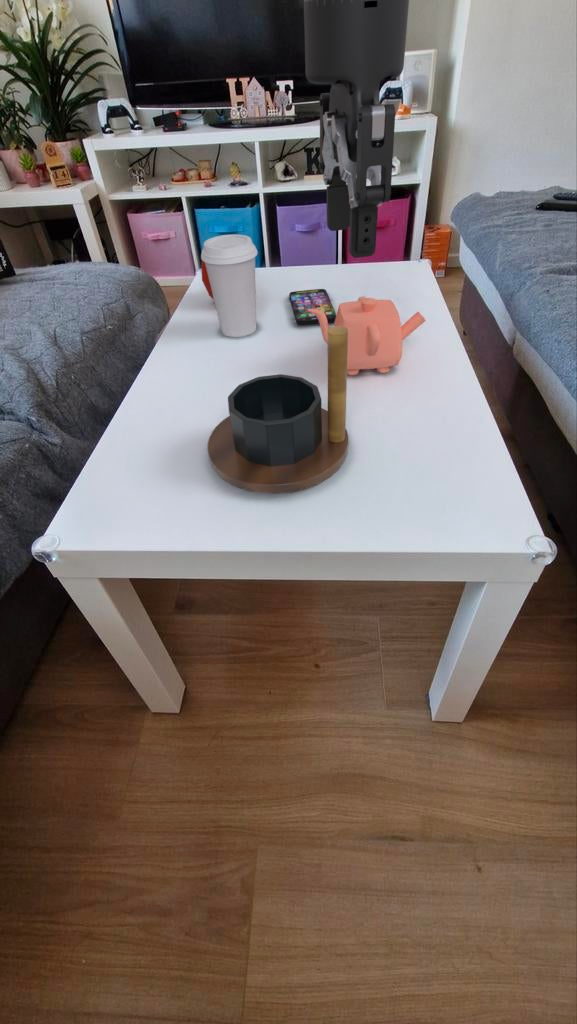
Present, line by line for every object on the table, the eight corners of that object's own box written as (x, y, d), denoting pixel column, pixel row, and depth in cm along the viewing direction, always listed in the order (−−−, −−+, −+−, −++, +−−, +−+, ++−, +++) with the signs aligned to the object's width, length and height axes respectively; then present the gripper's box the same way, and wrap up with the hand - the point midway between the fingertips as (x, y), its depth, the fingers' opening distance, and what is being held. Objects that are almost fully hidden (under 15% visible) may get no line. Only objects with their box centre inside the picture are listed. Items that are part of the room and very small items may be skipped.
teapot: (368, 337, 86) (371, 277, 79) (423, 359, 80) (432, 295, 73) (308, 367, 80) (306, 304, 73) (362, 393, 73) (366, 327, 66)
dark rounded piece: (183, 475, 61) (151, 359, 50) (246, 400, 73) (232, 294, 62) (319, 508, 55) (317, 386, 45) (365, 421, 67) (371, 308, 56)
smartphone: (295, 322, 90) (287, 291, 101) (296, 327, 91) (288, 296, 102) (338, 317, 91) (325, 288, 101) (338, 322, 91) (325, 292, 102)
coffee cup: (204, 337, 90) (188, 248, 80) (227, 316, 96) (215, 231, 86) (251, 343, 87) (240, 252, 77) (272, 321, 94) (265, 234, 83)
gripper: (287, 1, 40) (296, 226, 51) (327, -13, 30) (327, 271, 41) (377, -5, 40) (366, 218, 52) (446, -21, 30) (414, 261, 42)
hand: (349, 241), depth 46 cm, fingers open, 8 cm apart
